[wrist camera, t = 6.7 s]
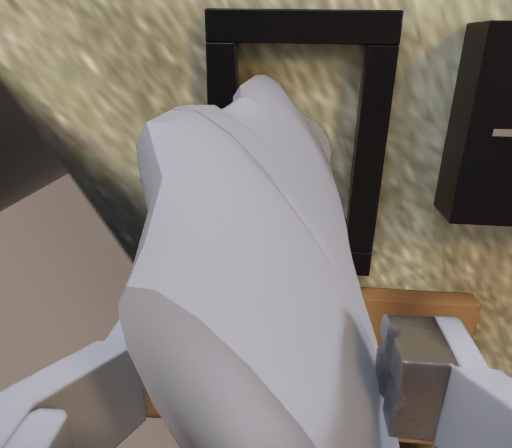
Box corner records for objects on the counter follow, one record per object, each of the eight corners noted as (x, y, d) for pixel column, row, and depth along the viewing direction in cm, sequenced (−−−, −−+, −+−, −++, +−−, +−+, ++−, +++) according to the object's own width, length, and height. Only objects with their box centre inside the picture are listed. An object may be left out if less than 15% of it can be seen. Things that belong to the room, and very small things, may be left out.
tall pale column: (220, 86, 25) (-135, 278, 4) (284, 48, 24) (199, 75, 3) (304, 237, 28) (320, 755, 8) (364, 210, 27) (568, 729, 6)
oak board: (307, 418, 34) (307, 433, 32) (318, 284, 29) (319, 296, 28) (439, 429, 33) (445, 445, 31) (472, 293, 28) (481, 306, 27)
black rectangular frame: (215, 258, 29) (211, 267, 28) (209, 9, 23) (204, 8, 22) (366, 267, 28) (369, 276, 27) (399, 11, 22) (404, 10, 21)
